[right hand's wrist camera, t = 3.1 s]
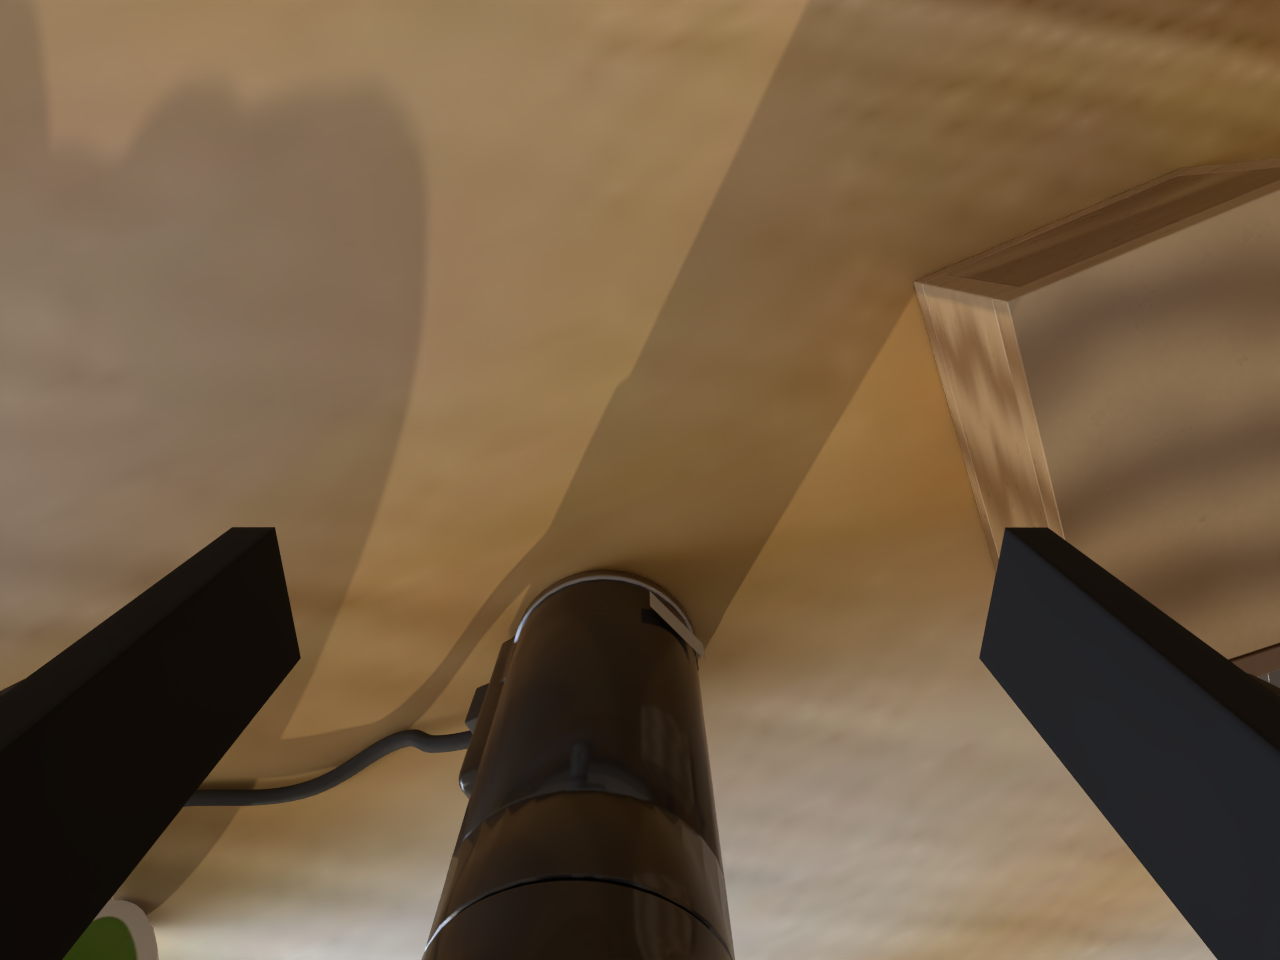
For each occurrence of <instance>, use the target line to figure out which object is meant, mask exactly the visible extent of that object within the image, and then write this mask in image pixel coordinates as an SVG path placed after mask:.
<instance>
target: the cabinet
mask: <svg viewBox="0 0 1280 960" xmlns="http://www.w3.org/2000/svg"><path fill="white" fill-rule="evenodd" d="M914 286H915V289H916V293H917V296H918V300H919V303H920V307H921V310H922V314H923V317H924V321H925V324H926V328H927V332H928V335H929V339H930V342H931V346H932V349H933V353H934V356H935V360H936V363H937V367H938V370H939V374H940V377H941V381H942V384H943V388H944V391H945V395H946V398H947V402H948V405H949V409H950V412H951V416H952V419H953V423H954V426H955V430H956V433H957V437H958V440H959V444H960V447H961V451H962V454H963V458H964V461H965V465H966V469H967V472H968V476H969V479H970V483H971V486H972V490H973V493H974V497H975V500H976V504H977V507H978V511H979V514H980V518H981V521H982V525H983V528H984V532H985V535H986V539H987V542H988V546H989V549H990V553H991V556H992V560H993V563H994V567H995V570H996V571H997V566H998V561H999V556H1000V551H1001V546H1002V541H1003V536H1004V531H1005V527H1048V528H1049V529H1051V530H1052V531H1053V532H1055V533H1056V534H1057V535H1059V536H1060V537H1062V538H1063V539H1064V540H1066V541H1067V542H1068V543H1070V544H1071V545H1072V546H1074V547H1075V548H1077V549H1078V550H1079V551H1081V552H1082V553H1083V554H1085V555H1086V556H1088V557H1089V558H1090V559H1092V560H1093V561H1094V562H1096V563H1097V564H1098V565H1100V566H1101V567H1103V568H1104V569H1105V570H1107V571H1108V572H1109V573H1111V574H1112V575H1113V576H1115V577H1116V578H1118V579H1119V580H1120V581H1122V582H1123V583H1124V584H1126V585H1127V586H1128V587H1130V588H1131V589H1133V590H1134V591H1135V592H1137V593H1138V594H1139V595H1141V596H1142V597H1143V598H1145V599H1146V600H1148V601H1149V602H1150V603H1152V604H1153V605H1154V606H1156V607H1157V608H1158V609H1160V610H1161V611H1163V612H1164V613H1165V614H1167V615H1168V616H1169V617H1171V618H1172V619H1174V620H1175V621H1176V622H1178V623H1179V624H1180V625H1182V626H1183V627H1184V628H1186V629H1187V630H1189V631H1190V632H1191V633H1193V634H1194V635H1195V636H1197V637H1198V638H1199V639H1201V640H1202V641H1204V642H1205V643H1206V644H1208V645H1209V646H1210V647H1212V648H1213V649H1214V650H1216V651H1217V652H1219V653H1220V654H1221V655H1223V656H1224V657H1225V658H1227V659H1231V658H1234V657H1237V656H1240V655H1243V654H1246V653H1249V652H1252V651H1255V650H1258V649H1261V648H1265V647H1268V646H1271V645H1274V644H1277V643H1280V158H1273V159H1263V160H1253V161H1244V162H1234V163H1224V164H1215V165H1205V166H1195V167H1186V168H1181V169H1178V170H1176V171H1174V172H1171V173H1169V174H1167V175H1164V176H1162V177H1160V178H1157V179H1155V180H1152V181H1150V182H1148V183H1145V184H1143V185H1141V186H1138V187H1136V188H1134V189H1131V190H1129V191H1126V192H1124V193H1122V194H1119V195H1117V196H1115V197H1112V198H1110V199H1108V200H1105V201H1103V202H1101V203H1098V204H1096V205H1093V206H1091V207H1089V208H1086V209H1084V210H1082V211H1079V212H1077V213H1075V214H1072V215H1070V216H1068V217H1065V218H1063V219H1060V220H1058V221H1056V222H1053V223H1051V224H1049V225H1046V226H1044V227H1042V228H1039V229H1037V230H1035V231H1032V232H1030V233H1027V234H1025V235H1023V236H1020V237H1018V238H1016V239H1013V240H1011V241H1009V242H1006V243H1004V244H1001V245H999V246H997V247H994V248H992V249H990V250H987V251H985V252H983V253H980V254H978V255H976V256H973V257H971V258H968V259H966V260H964V261H961V262H959V263H957V264H954V265H952V266H950V267H947V268H945V269H943V270H940V271H938V272H935V273H933V274H931V275H928V276H926V277H924V278H921V279H919V280H917V281H915V282H914Z"/></svg>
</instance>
